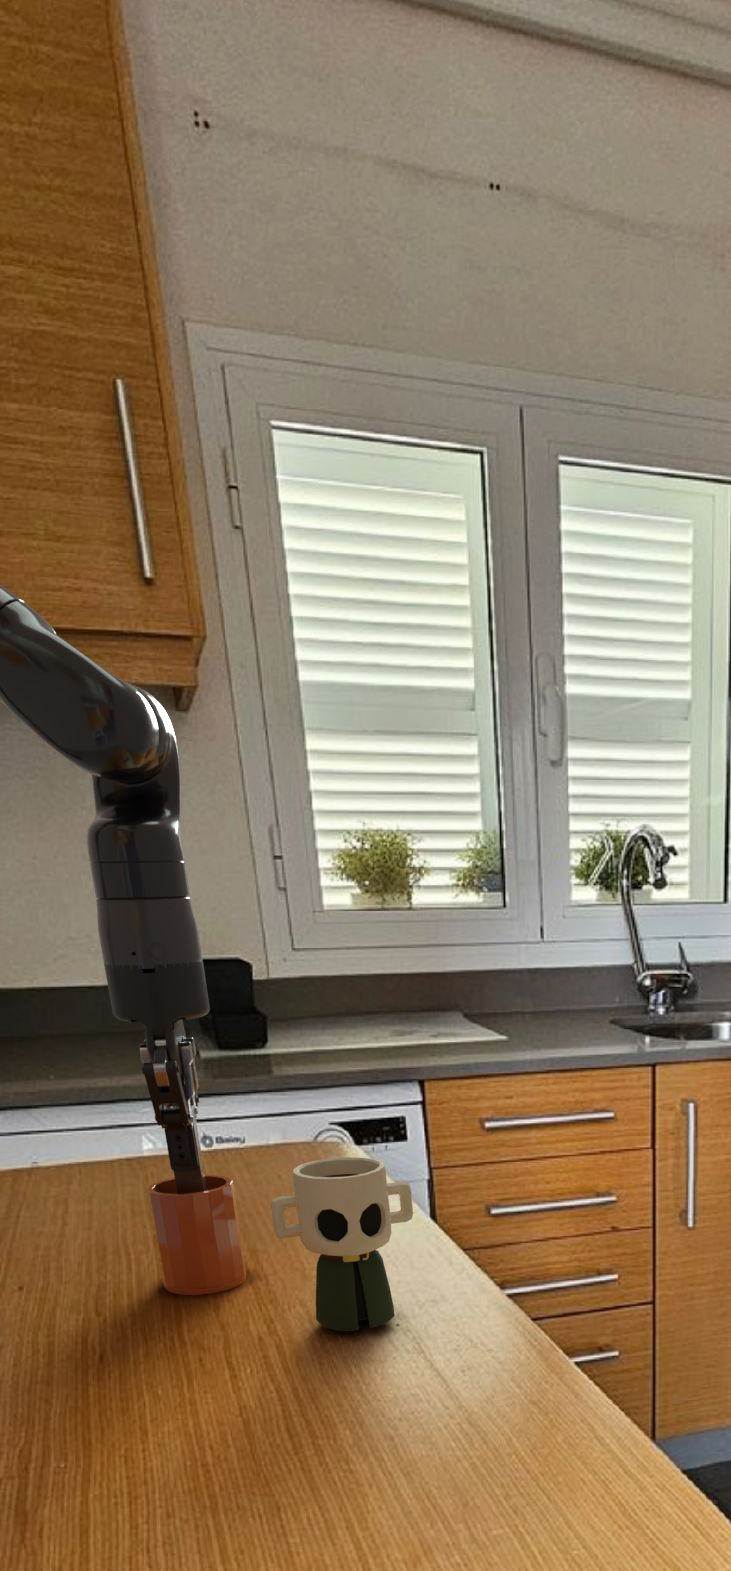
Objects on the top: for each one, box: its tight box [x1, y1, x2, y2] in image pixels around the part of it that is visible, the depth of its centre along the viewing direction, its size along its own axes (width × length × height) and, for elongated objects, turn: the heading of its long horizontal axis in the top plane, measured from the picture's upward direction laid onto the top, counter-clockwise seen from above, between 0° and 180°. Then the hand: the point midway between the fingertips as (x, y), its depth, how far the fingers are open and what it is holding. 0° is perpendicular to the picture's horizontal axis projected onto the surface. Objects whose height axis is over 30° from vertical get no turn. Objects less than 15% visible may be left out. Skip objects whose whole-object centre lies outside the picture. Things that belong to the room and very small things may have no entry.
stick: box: [166, 1105, 207, 1194], centre depth 104 cm, size 2×2×12 cm
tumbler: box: [146, 1174, 247, 1296], centre depth 106 cm, size 7×7×9 cm
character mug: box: [270, 1156, 414, 1332], centre depth 95 cm, size 11×7×13 cm, turn 115°
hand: (187, 1165), depth 103 cm, fingers closed on stick, 2 cm apart
